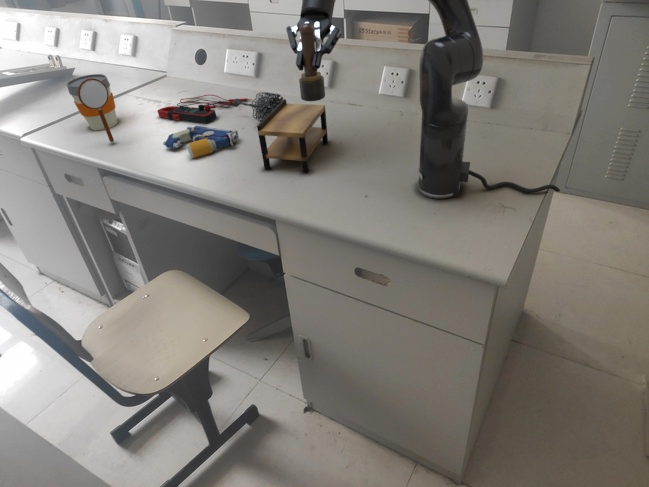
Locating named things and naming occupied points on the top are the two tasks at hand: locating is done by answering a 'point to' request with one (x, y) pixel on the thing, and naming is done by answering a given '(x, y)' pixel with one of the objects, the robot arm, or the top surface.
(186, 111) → the digital clamp meter
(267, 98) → the massage brush
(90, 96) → the magnifying glass
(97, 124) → the reusable coffee cup
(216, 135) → the spray gun
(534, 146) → the top surface
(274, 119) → the tan black-edged stand
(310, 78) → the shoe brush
